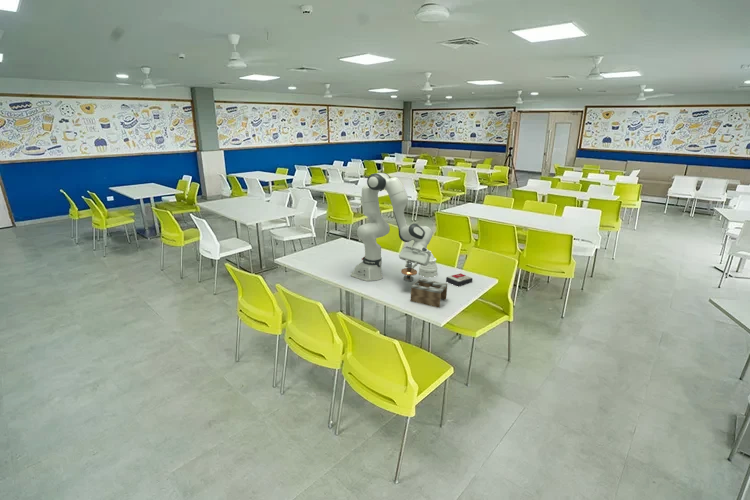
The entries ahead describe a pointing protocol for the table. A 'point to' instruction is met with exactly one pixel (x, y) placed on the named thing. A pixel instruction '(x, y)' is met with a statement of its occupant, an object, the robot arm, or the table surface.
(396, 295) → the table surface
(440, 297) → the wood and metal frame
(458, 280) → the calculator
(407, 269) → the spinning top
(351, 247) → the table surface
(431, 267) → the white ridged cone
